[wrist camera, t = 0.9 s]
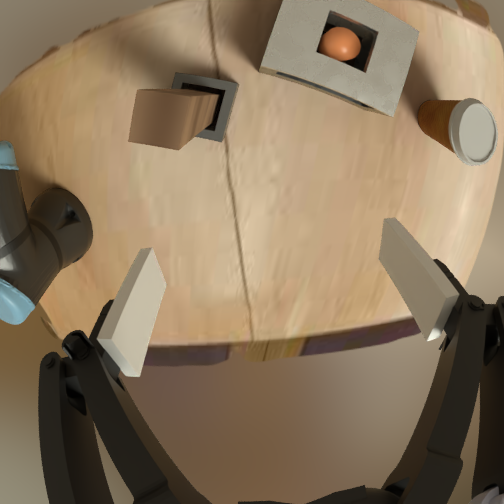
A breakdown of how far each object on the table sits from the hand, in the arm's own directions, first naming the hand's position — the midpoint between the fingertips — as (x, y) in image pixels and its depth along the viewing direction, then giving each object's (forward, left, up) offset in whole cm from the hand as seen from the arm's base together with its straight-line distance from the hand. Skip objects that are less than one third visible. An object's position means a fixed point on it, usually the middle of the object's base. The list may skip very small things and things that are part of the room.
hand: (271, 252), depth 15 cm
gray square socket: (-9, +5, -27) cm, 28 cm away
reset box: (+5, +18, -27) cm, 32 cm away
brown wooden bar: (-9, +5, -27) cm, 28 cm away
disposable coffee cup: (+25, +16, -27) cm, 40 cm away
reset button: (+5, +18, -24) cm, 30 cm away
